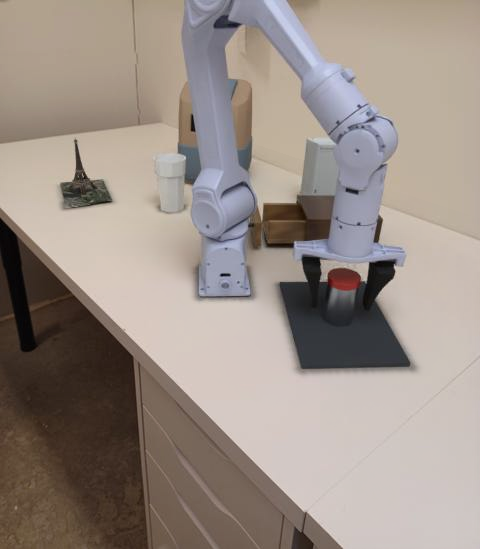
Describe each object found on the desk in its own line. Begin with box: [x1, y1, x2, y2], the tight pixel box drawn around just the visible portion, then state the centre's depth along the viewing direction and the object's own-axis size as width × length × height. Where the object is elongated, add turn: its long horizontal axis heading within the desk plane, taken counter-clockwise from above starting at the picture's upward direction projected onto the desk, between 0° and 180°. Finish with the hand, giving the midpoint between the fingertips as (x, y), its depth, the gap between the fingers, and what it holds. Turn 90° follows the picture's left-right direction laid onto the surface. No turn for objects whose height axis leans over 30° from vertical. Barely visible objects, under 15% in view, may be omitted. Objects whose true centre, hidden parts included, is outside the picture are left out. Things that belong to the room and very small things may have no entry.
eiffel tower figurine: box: [60, 138, 113, 209], centre depth 105 cm, size 15×10×13 cm
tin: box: [322, 267, 362, 326], centre depth 67 cm, size 4×4×7 cm
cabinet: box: [295, 194, 384, 243], centre depth 91 cm, size 14×12×7 cm
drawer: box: [248, 202, 307, 247], centre depth 90 cm, size 17×10×5 cm, turn 94°
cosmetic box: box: [299, 137, 339, 196], centre depth 102 cm, size 8×6×15 cm
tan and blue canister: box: [177, 77, 253, 185], centre depth 115 cm, size 17×17×23 cm
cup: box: [152, 152, 186, 213], centre depth 100 cm, size 7×7×11 cm
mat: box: [279, 280, 411, 370], centre depth 68 cm, size 20×14×1 cm
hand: (339, 305), depth 67 cm, fingers open, 7 cm apart
